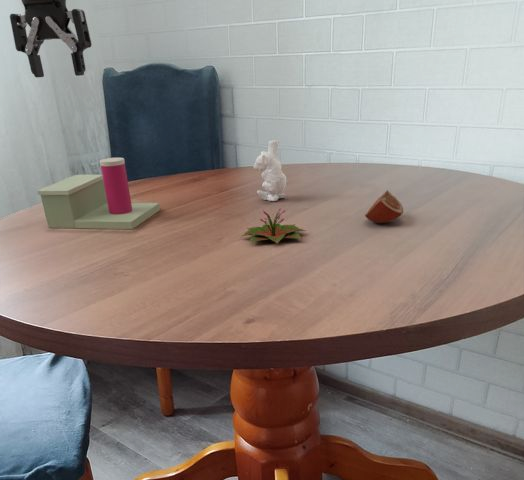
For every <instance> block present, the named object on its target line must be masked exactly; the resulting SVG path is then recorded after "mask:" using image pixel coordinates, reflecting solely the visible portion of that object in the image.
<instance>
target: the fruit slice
mask: <svg viewBox="0 0 524 480" xmlns="http://www.w3.org/2000/svg"><path fill="white" fill-rule="evenodd" d="M403 214H404V207H403V204H402V203H401V202H400V201H399V200H398V199H397V198H396V196H394V195H393V194H392V193H391V192H390V191H389V190H388V189H387V190H386V191H384V193H383V194H382V195H380V196H379V197H378V198H377V199H376V200H375V202H374V203H373V204H372V205H371V207H370V208H369V209H368V211H367V212H366V213H365V215H364V216H365V218H367V220H368V221H370V222H372V223H374V224H386V223H389V222H393V221H394V220H396V219H397V218H400V217H401V216H402V215H403Z"/></svg>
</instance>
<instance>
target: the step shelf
mask: <svg viewBox="0 0 524 480" xmlns="http://www.w3.org/2000/svg"><path fill="white" fill-rule="evenodd" d="M36 192H37V195H38V196H40V199H41V203H42V207H43V211H44V216H45V219H46V223H47V227H48V229H49V228H50V229H92V230H93V229H95V230H96V229H97V230H98V229H99V230H100V229H101V230H134V229H135V228H137V226H139V225H141V224H142V223H144V222H145V221H147V220H148V219H150V218H151V217H152V216H154V215H155V214H157V213H158V212H160V211H161V206H160V205H161V204H160V202H131V204H132V211H131V212H129V213H125V214H111V213H109V208H108V203H107V198H106V192H105V187H104V182H103V176H102V174H74V175H72V176H70V177H67V178H65V179H62V180H59V181H57V182H55V183H52V184H49V185H47V186H45V187H43V188H40V189H38V190H37V191H36Z"/></svg>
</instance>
